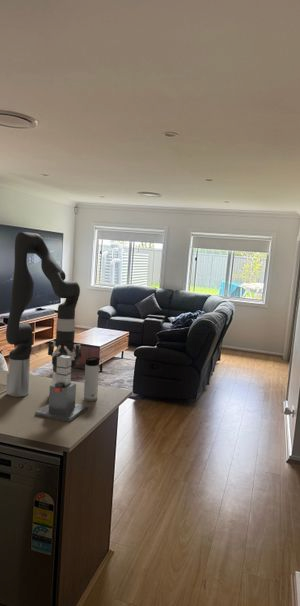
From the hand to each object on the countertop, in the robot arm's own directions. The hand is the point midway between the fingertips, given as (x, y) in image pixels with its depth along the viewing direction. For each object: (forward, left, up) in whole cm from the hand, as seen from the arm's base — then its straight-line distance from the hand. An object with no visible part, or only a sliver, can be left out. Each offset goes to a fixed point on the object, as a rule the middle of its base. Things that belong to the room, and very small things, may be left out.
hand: (63, 367), depth 173 cm
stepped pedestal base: (0, 0, -20) cm, 20 cm away
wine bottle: (-13, +22, -20) cm, 32 cm away
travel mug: (+4, +20, -20) cm, 28 cm away
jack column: (0, 0, -14) cm, 14 cm away
